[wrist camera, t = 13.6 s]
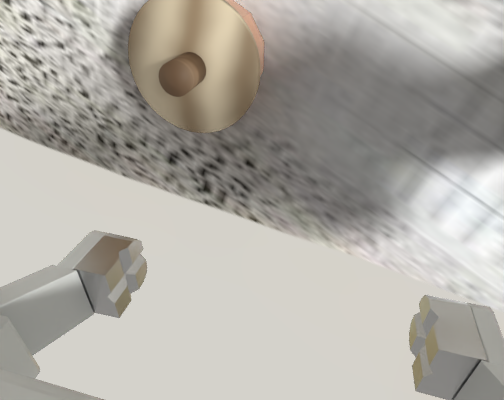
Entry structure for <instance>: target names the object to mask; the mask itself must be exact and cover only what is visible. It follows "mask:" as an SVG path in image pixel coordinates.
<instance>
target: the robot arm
mask: <svg viewBox="0 0 504 400" xmlns="http://www.w3.org/2000/svg"><path fill="white" fill-rule="evenodd" d="M142 250H143V246H142V242H141V241H140V240H137V239H133V238H129V237H124V236H120V235H115V234H111V233H105V232H100V231H92V232H90V233H89V234H88V235H87V236H86V237H85V238H84V239H83V240H82V241H81V242H80V243H79V244H78V245H77V246H76V247H75V248H74V249H73V250H72V251H71V252H70V253H69V254H68V255H67V256H66V257H65V258H64V259H63V260H62V261H61V262H60V263H59V264H58V265H57V266H55V265H51V266H49V267H47V268H44V269H42V270H40V271H38V272H35V273H33V274H30V275H28V276H26V277H24V278H21V279H19V280H17V281H14V282H12V283H10V284H8V285H5V286H3V287H0V400H104V399H100V398H97V397H94V396H90V395H87V394H83V393H80V392H77V391H74V390H70V389H67V388H64V387H60V386H57V385H53V384H50V383H47V382H44V381H41V380H37V379H35V378H36V376H37V375H38V374H39V372H40V368H39V366H38V364H37V362H36V361H35V359H34V358H33V356H32V355H34V354H35V353H37V352H38V351H40V350H41V349H43V348H44V347H46V346H47V345H49V344H50V343H52V342H53V341H55V340H56V339H58V338H59V337H61V336H62V335H63V334H65V333H67V332H68V331H69V330H71V329H73V328H74V327H75V326H77V325H78V324H80V323H81V322H83V321H84V320H86V319H87V318H89V317H90V316H92V315H93V314H94V313H98V314H103V315H108V316H113V317H117V318H120V316H121V315H122V313H123V312H124V310H125V309H126V308H127V306H128V305H129V303H130V302H131V293H132V292H134V291H136V290H138V289H139V288H140V287H141V285H142V283H143V282H144V279H145V276H146V273H147V263H146V259H145V258H144V257H143V256H142V255H141V254H140V253H141V252H142ZM419 307H420V313H417V314H415V315H414V317H413V319H412V322H411V326H410V332H409V343H410V350H411V351H412V353H413V354H414V355H415V357H416V359H415V361H414V364H413V365H412V368H413V376H414V384H415V390H416V391H417V392H421V393H425V394H428V395H432V396H435V397H439V398H443V399H446V400H504V338H503V336H502V333H501V330H500V328H499V325H498V322H497V320H496V318H495V314H494V312H493V310H492V309H491V308H490V307H487V306H482V305H476V304H471V303H465V302H460V301H455V300H449V299H444V298H439V297H433V296H428V295H424V296H423V298H422V299H421V301H420V303H419ZM93 312H94V313H93Z"/></svg>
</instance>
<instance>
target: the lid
mask: <svg viewBox="0 0 504 400" xmlns="http://www.w3.org/2000/svg"><path fill="white" fill-rule="evenodd" d="M128 56H129V64H130V68H131V72H132V75H133V78H134V81H135V83H136V85H137V87H138V89H139V91H140V93H141V94H142V96H143V97H144V99H145V100H146V102H147V103H148V104H149V105H150V106H151V108H152V109H153V110H154V111H155V112H156V113H157V114H159V115H160V116H161V117H162V118H164V119H165V120H166V121H168V122H169V123H171V124H173V125H175V126H177V127H179V128H181V129H184V130H187V131H191V132H197V133H211V132H216V131H220V130H223V129H225V128H228V127H229V126H231V125H233V124H234V123H235V122H237V121H238V120H239V119H240V118H241V117H242V116H243V115H244V114H245V113H246V111H247V110H248V108H249V107H250V106H251V104H252V102H253V100H254V98H255V96H256V93H257V91H258V87H259V82H260V73H261V68H260V57H259V51H258V48H257V44H256V41H255V39H254V37H253V34H252V32H251V30H250V28H249V27H248V25H247V23H246V22H245V20H244V19H243V18H242V16H241V15H240V14H239V13H238V12H237V11H236V10H235V9H234V8H233V7H232V6H231V5H230V4H229V3H227V2H226V1H225V0H149V1H148V2H146V3H145V4H144V5H143V7H142V8H141V9H140V10H139V12H138V14H137V15H136V17H135V19H134V21H133V24H132V27H131V30H130V35H129V42H128Z"/></svg>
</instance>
